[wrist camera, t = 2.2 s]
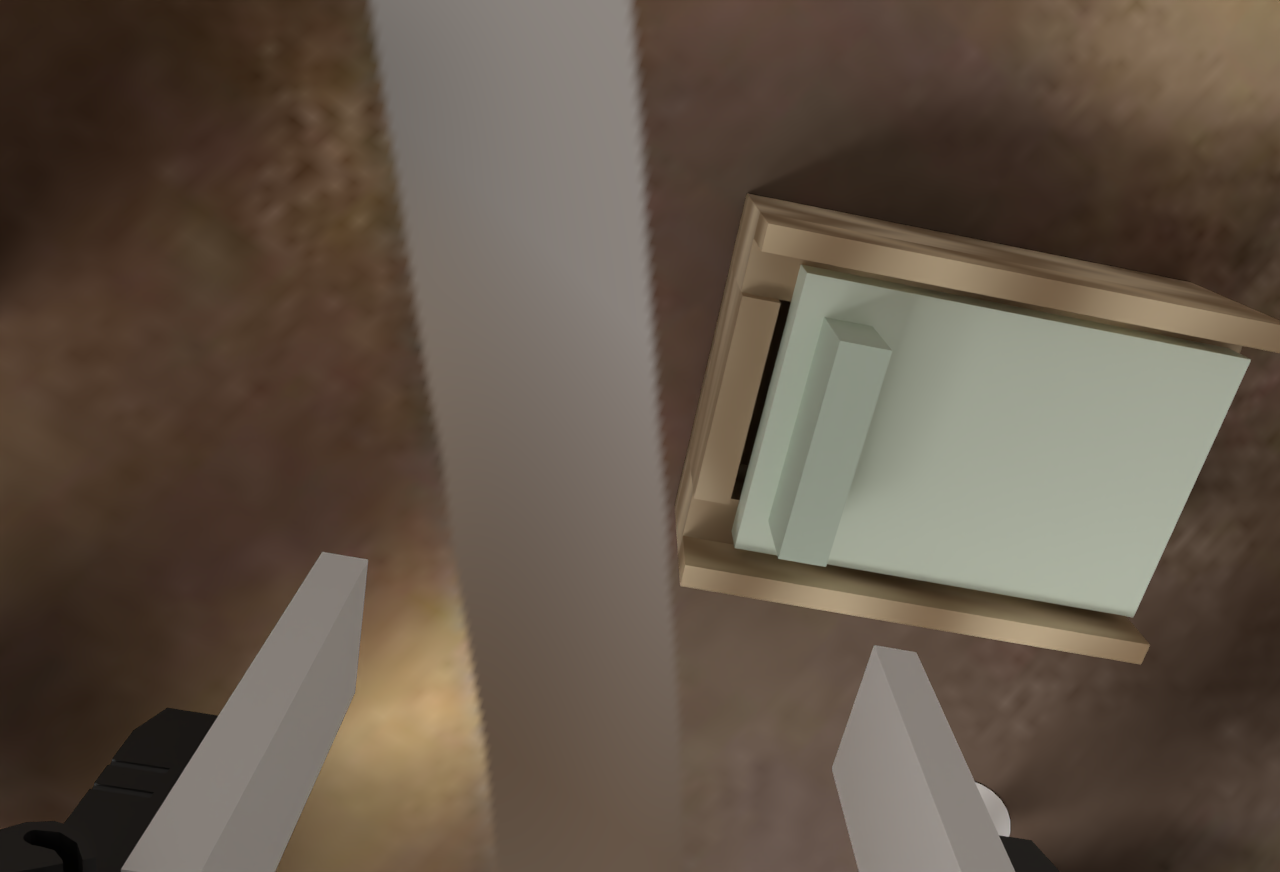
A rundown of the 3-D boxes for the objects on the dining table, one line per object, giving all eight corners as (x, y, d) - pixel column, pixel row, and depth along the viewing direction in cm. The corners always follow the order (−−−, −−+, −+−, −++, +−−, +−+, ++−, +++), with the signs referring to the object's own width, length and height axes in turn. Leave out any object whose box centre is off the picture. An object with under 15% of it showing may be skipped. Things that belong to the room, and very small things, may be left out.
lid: (731, 531, 33) (741, 587, 29) (800, 264, 29) (821, 293, 26) (1116, 598, 34) (1170, 661, 30) (1228, 348, 30) (1303, 386, 27)
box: (674, 504, 37) (680, 585, 31) (746, 193, 32) (768, 223, 27) (1068, 573, 38) (1140, 664, 32) (1190, 281, 33) (1299, 328, 28)
